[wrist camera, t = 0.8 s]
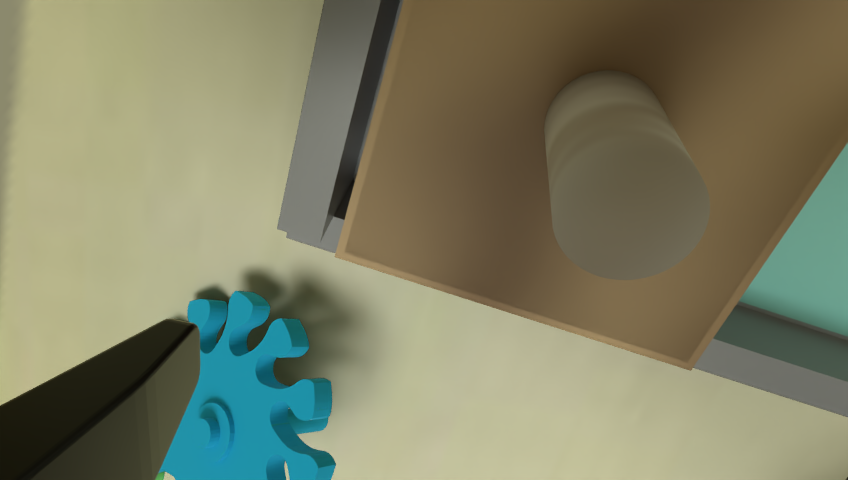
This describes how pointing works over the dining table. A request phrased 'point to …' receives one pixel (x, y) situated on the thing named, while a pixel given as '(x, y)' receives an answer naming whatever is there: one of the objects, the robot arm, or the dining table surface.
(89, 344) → the dining table surface
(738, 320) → the bay
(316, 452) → the gear
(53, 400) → the robot arm
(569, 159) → the crate
